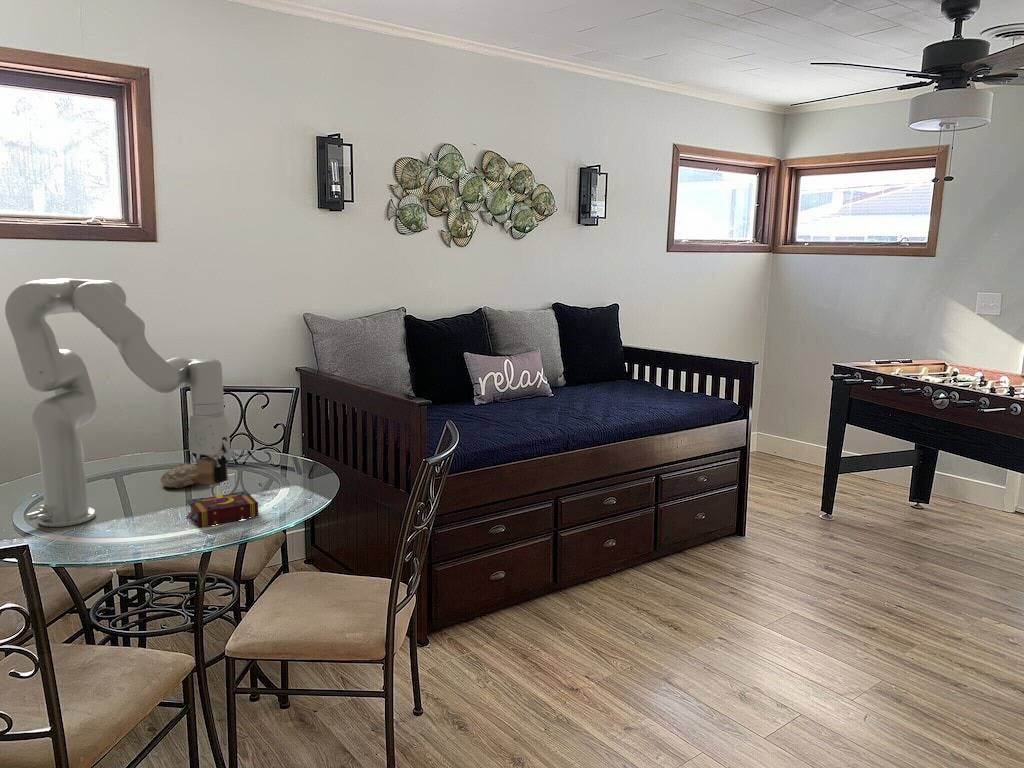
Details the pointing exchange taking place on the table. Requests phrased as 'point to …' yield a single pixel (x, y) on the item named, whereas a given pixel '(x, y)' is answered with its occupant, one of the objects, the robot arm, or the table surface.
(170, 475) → the fossil
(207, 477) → the walnut block
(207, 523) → the decorative book
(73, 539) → the table surface
